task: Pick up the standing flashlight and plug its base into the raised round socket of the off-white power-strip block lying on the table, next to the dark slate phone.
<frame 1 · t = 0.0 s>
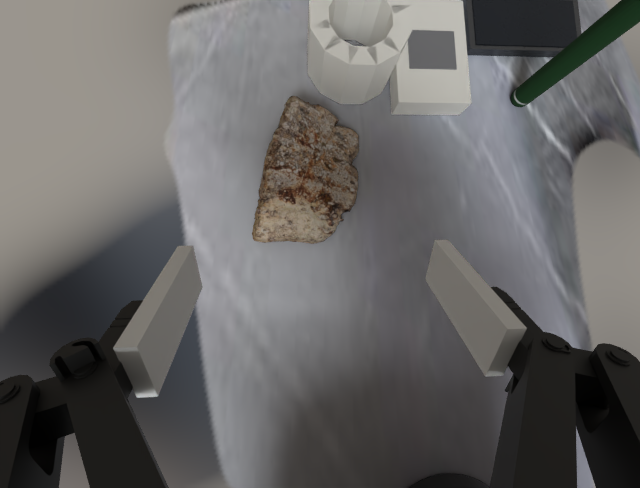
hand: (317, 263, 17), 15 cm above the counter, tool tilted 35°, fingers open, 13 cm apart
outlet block: (349, 64, 34), on the counter
flashlight: (516, 100, 36), on the counter
phone: (518, 29, 37), on the counter
rock: (308, 185, 33), on the counter
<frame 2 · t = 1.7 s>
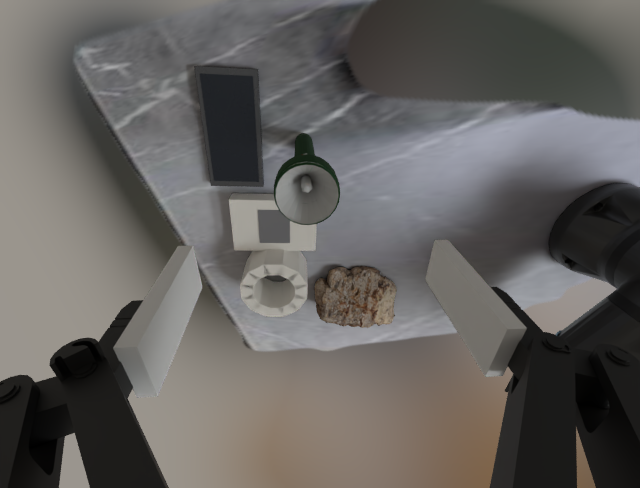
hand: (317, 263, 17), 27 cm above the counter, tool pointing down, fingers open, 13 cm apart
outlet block: (277, 266, 49), on the counter
flashlight: (303, 141, 40), on the counter
phone: (233, 131, 39), on the counter
rock: (358, 289, 53), on the counter
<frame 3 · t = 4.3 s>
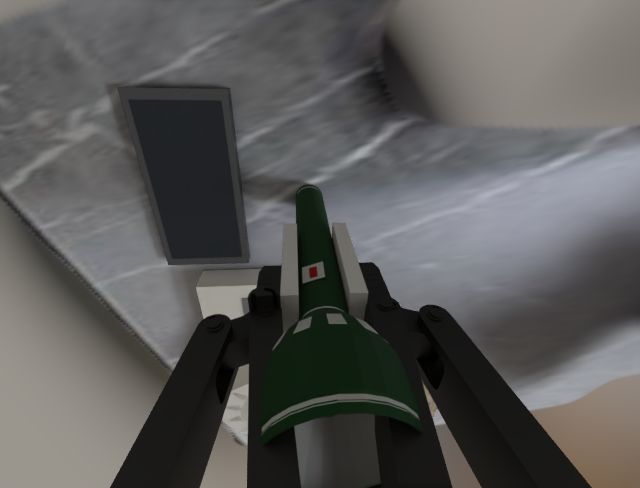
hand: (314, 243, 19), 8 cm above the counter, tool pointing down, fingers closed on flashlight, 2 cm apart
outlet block: (274, 356, 35), on the counter
flashlight: (308, 194, 26), on the counter, touching gripper
phone: (197, 185, 24), on the counter
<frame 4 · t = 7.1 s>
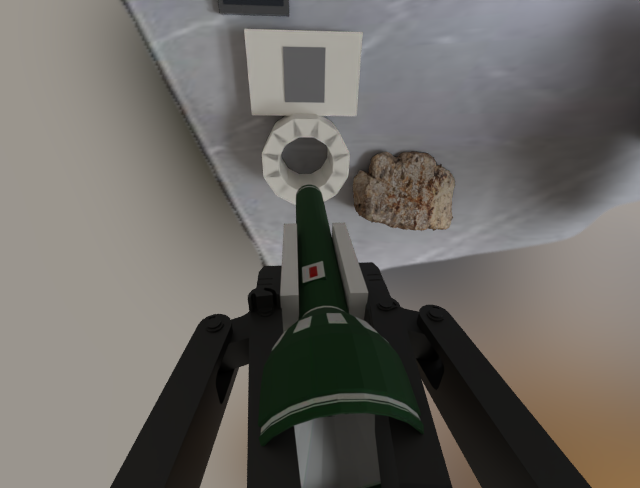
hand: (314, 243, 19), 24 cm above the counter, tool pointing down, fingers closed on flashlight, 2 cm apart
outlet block: (304, 151, 39), on the counter
flashlight: (308, 194, 26), point 16 cm above the counter, touching gripper
rock: (405, 188, 43), on the counter
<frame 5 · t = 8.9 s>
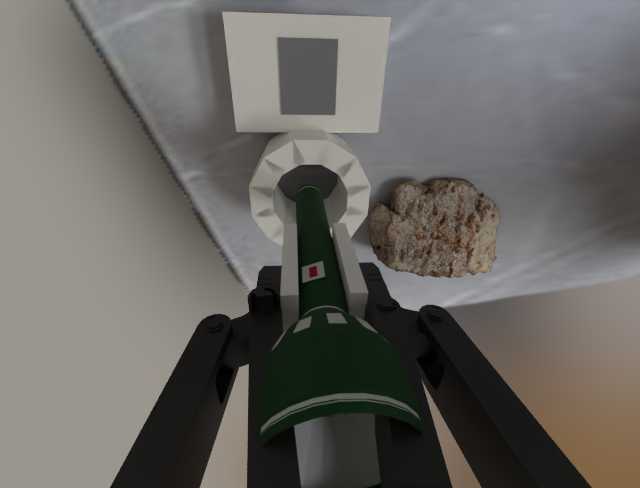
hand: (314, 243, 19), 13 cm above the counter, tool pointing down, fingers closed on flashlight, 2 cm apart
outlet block: (307, 176, 30), on the counter
flashlight: (308, 194, 26), point 5 cm above the counter, touching gripper
rock: (435, 221, 34), on the counter
when the fingers open (8 cm above the counter, at t = 10.0 s): flashlight stays where it is, resting in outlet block.
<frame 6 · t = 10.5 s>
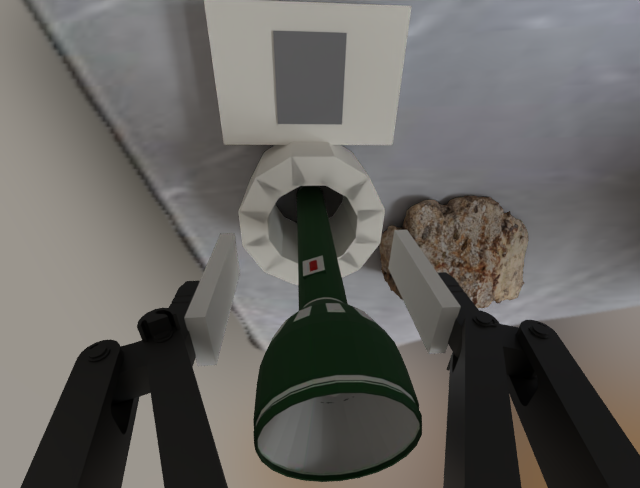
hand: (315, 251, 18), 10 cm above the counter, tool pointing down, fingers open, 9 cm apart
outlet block: (308, 193, 26), on the counter
flashlight: (309, 192, 26), resting in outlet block
rock: (454, 242, 30), on the counter
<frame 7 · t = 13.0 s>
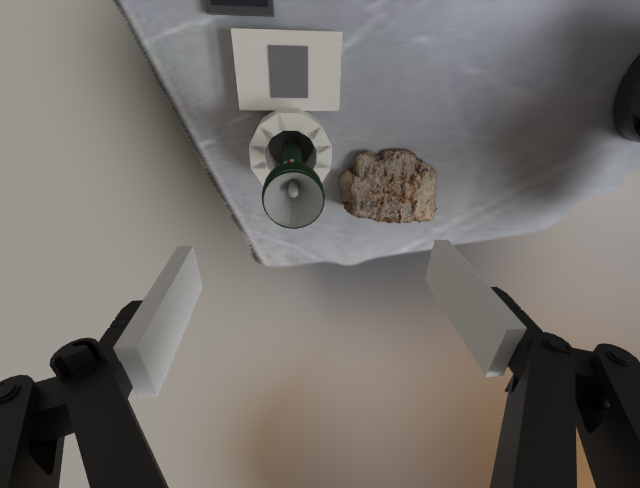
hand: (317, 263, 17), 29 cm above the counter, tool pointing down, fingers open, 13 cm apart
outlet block: (291, 144, 41), on the counter
flashlight: (291, 144, 41), resting in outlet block
rock: (390, 183, 46), on the counter
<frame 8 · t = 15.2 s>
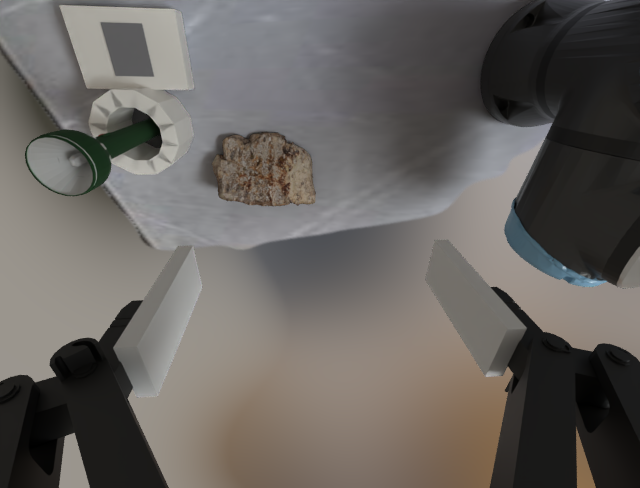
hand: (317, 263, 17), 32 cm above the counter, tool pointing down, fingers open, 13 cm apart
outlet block: (156, 125, 41), on the counter
flashlight: (157, 125, 42), resting in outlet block
rock: (269, 167, 46), on the counter
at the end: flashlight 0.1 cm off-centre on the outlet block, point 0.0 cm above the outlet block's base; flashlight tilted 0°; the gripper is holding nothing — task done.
